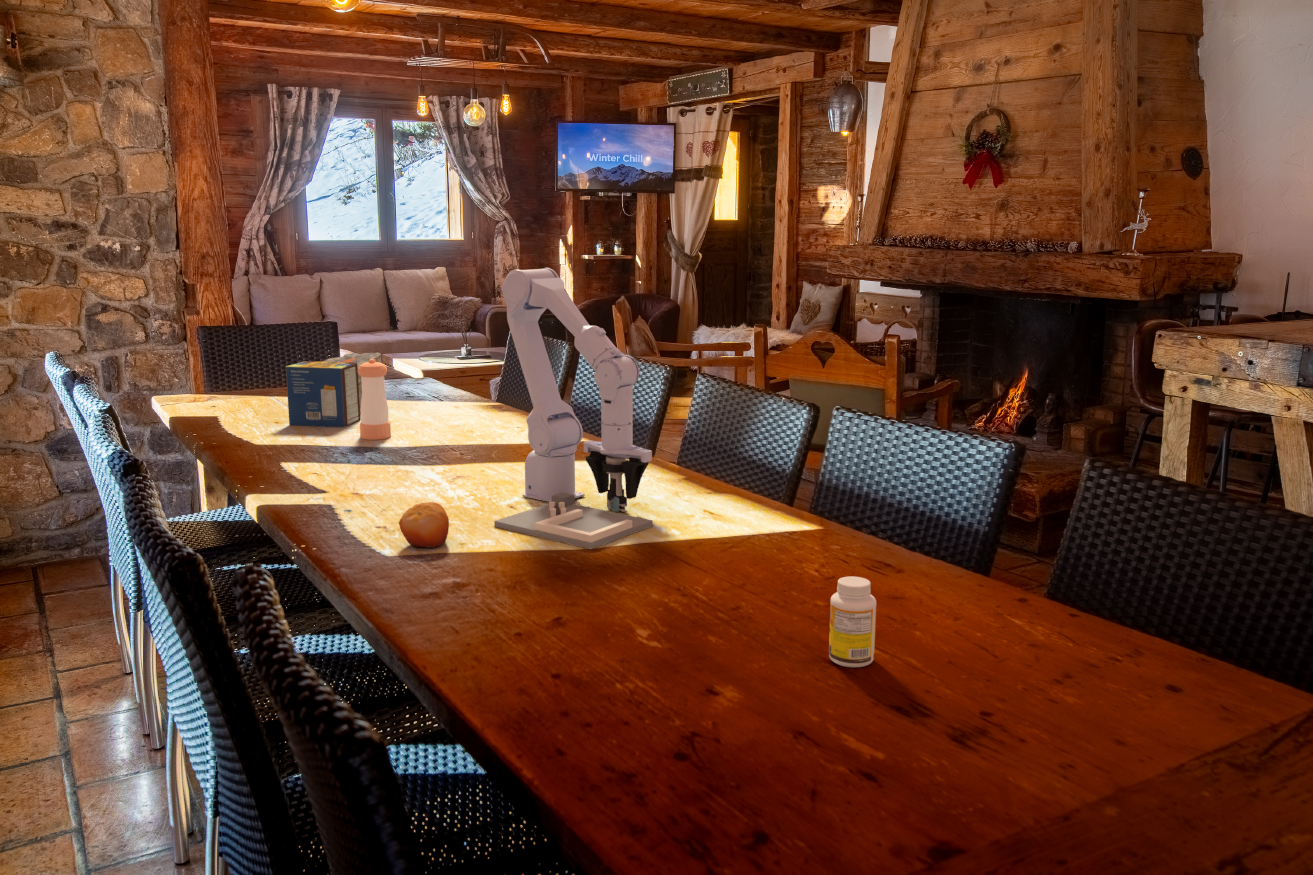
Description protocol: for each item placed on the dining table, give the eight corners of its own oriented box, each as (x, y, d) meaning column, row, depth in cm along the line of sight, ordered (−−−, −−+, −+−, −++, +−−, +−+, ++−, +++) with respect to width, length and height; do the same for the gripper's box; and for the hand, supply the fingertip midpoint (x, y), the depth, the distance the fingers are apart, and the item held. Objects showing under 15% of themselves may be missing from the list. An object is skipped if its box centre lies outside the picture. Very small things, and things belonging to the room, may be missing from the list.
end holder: (534, 529, 185) (534, 522, 185) (577, 515, 194) (577, 508, 194) (590, 542, 178) (590, 535, 178) (632, 527, 187) (632, 520, 187)
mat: (494, 526, 191) (494, 520, 190) (558, 506, 204) (558, 500, 204) (591, 549, 178) (591, 543, 178) (652, 525, 191) (652, 520, 191)
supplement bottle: (842, 647, 138) (846, 570, 136) (882, 659, 134) (886, 580, 132) (819, 661, 134) (822, 581, 132) (859, 673, 130) (863, 592, 128)
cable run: (542, 517, 193) (542, 508, 193) (554, 500, 204) (553, 492, 204) (565, 517, 193) (565, 508, 192) (575, 501, 204) (575, 492, 203)
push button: (637, 512, 200) (637, 459, 198) (611, 516, 197) (610, 462, 195) (623, 504, 206) (623, 452, 204) (597, 507, 203) (597, 455, 201)
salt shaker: (397, 436, 268) (393, 358, 264) (375, 441, 262) (371, 362, 258) (376, 432, 271) (372, 356, 268) (354, 437, 265) (349, 359, 262)
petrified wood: (303, 410, 302) (299, 356, 299) (331, 400, 319) (328, 349, 316) (366, 412, 299) (363, 358, 296) (391, 402, 316) (389, 350, 313)
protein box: (306, 418, 290) (302, 360, 287) (361, 420, 288) (358, 362, 285) (288, 425, 280) (284, 366, 277) (344, 427, 278) (341, 367, 275)
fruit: (464, 529, 184) (451, 495, 179) (445, 564, 178) (430, 530, 173) (422, 524, 186) (408, 491, 181) (402, 558, 181) (386, 525, 176)
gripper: (572, 421, 199) (573, 493, 202) (635, 430, 191) (635, 505, 194) (596, 415, 205) (597, 485, 208) (658, 424, 196) (658, 497, 199)
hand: (617, 494), depth 201 cm, fingers open, 6 cm apart
